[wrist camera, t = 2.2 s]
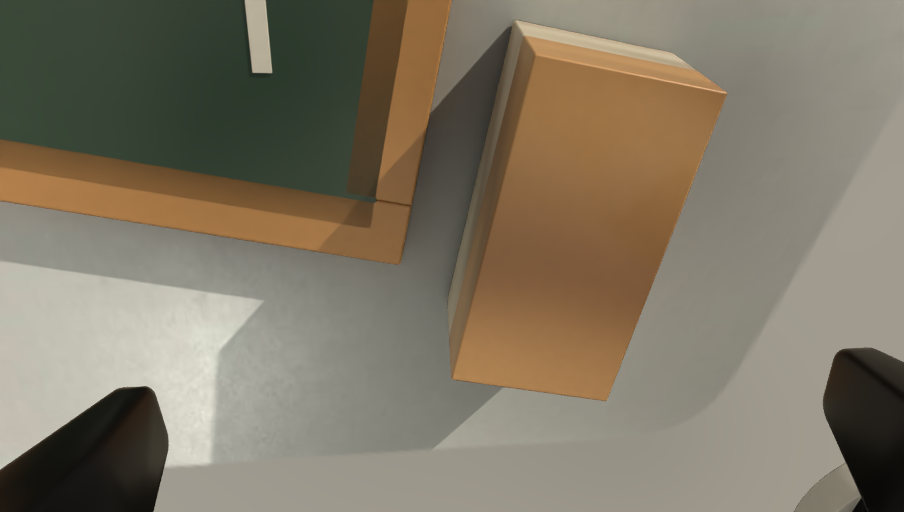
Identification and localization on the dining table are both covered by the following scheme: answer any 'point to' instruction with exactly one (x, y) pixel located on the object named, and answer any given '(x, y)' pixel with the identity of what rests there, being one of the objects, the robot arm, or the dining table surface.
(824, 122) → the dining table surface
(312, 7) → the chalkboard
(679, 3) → the dining table surface
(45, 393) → the dining table surface
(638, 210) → the eraser
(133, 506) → the robot arm
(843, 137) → the dining table surface
